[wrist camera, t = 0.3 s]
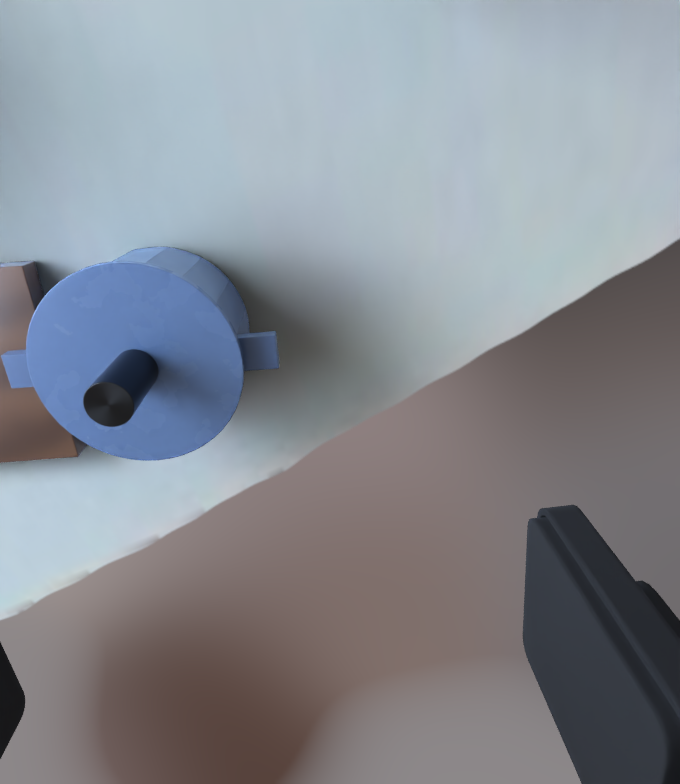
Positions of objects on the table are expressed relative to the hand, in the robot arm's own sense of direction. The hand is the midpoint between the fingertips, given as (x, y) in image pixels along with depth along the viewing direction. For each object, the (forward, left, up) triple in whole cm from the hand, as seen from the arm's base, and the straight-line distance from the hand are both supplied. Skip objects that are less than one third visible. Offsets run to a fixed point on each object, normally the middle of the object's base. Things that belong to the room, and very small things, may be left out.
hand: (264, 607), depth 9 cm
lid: (+5, -11, -28) cm, 30 cm away
